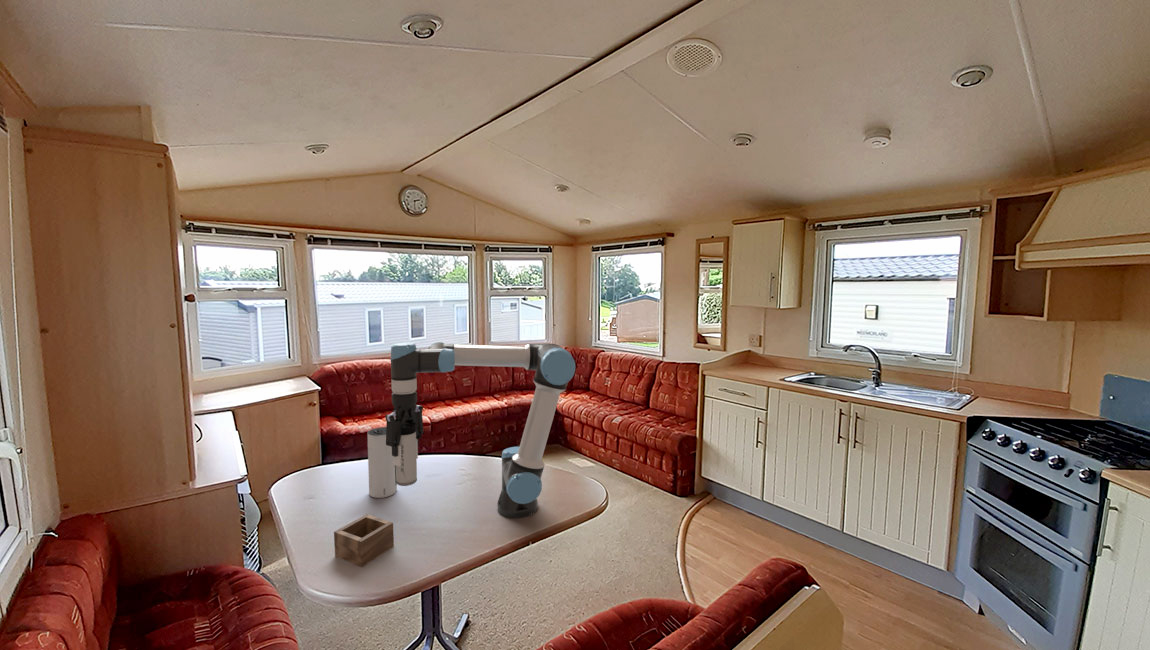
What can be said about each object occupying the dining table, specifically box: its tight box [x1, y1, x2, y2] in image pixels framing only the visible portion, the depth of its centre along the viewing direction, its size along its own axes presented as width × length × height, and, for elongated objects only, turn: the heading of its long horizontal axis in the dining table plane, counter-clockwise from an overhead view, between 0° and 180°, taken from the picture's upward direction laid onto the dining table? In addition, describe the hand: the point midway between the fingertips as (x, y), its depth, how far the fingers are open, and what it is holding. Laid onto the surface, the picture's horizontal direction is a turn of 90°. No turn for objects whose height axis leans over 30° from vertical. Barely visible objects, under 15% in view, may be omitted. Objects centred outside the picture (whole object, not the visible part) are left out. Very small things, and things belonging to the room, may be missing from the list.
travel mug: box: [396, 420, 418, 487], centre depth 147 cm, size 6×7×20 cm
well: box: [333, 513, 395, 568], centre depth 143 cm, size 12×12×8 cm
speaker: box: [366, 426, 398, 499], centre depth 182 cm, size 11×10×26 cm
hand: (405, 461), depth 147 cm, fingers closed on travel mug, 6 cm apart
